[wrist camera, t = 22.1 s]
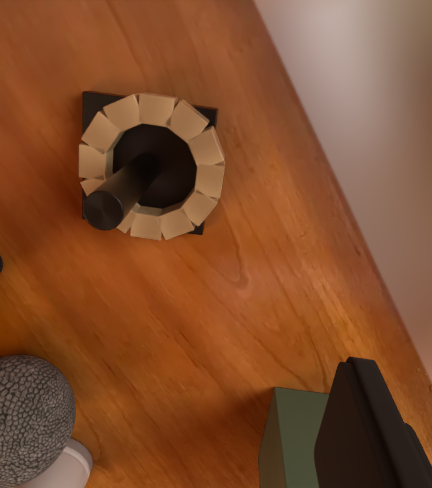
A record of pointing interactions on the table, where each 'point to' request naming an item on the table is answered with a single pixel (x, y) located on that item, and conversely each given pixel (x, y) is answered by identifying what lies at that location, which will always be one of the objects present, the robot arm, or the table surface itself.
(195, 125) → the ring
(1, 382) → the decorative ball
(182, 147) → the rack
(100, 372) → the table surface
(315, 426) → the block
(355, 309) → the table surface
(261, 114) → the table surface
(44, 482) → the travel mug
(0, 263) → the camera
